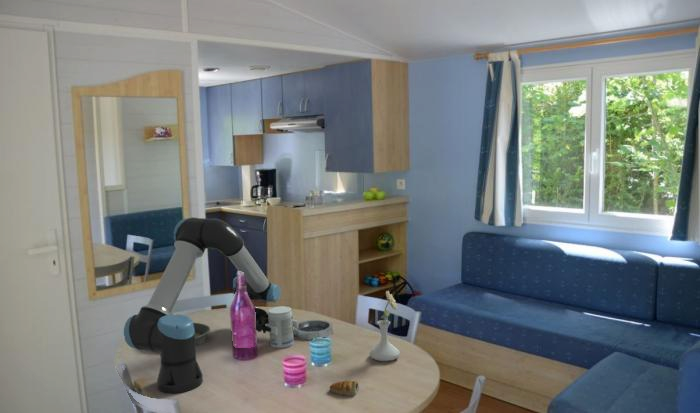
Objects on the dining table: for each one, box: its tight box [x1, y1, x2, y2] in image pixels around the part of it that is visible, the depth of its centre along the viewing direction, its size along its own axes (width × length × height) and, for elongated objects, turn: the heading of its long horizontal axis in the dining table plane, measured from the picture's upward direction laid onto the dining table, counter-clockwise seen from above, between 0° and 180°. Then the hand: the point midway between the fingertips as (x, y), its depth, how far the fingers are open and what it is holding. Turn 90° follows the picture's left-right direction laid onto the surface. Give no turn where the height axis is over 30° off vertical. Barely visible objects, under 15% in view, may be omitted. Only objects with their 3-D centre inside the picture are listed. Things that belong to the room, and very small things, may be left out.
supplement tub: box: [267, 305, 295, 349], centre depth 231 cm, size 10×10×15 cm
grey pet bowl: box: [293, 319, 334, 341], centre depth 244 cm, size 16×16×3 cm
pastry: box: [329, 379, 360, 397], centre depth 187 cm, size 9×7×4 cm
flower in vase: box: [369, 290, 401, 362], centre depth 213 cm, size 13×11×25 cm
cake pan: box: [193, 322, 211, 347], centre depth 240 cm, size 25×25×4 cm
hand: (287, 327), depth 228 cm, fingers open, 10 cm apart
